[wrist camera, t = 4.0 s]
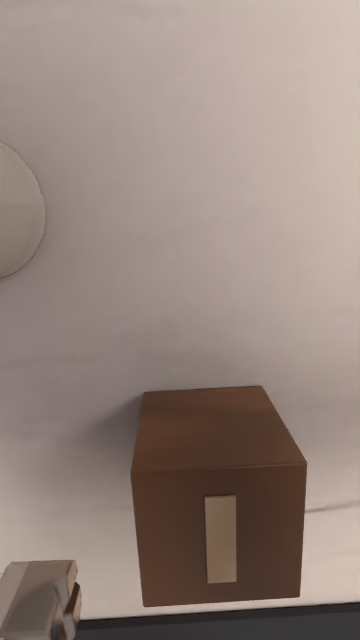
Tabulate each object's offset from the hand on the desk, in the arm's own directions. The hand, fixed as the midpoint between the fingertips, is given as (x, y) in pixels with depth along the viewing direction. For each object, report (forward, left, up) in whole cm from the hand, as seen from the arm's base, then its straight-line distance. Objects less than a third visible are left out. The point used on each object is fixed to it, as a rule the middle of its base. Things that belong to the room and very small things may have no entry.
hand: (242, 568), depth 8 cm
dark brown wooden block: (0, 0, -5) cm, 5 cm away
